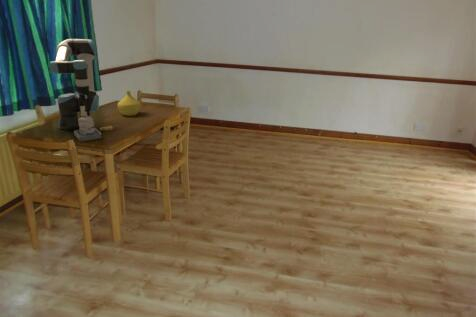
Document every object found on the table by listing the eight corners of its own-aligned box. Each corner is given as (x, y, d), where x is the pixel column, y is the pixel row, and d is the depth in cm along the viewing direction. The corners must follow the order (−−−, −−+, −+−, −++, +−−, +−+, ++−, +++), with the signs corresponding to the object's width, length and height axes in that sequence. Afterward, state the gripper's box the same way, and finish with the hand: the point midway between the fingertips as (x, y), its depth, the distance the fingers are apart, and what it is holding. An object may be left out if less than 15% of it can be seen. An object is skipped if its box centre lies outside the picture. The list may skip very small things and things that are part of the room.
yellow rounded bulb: (140, 111, 313) (139, 88, 306) (142, 116, 297) (141, 93, 290) (118, 112, 307) (116, 89, 300) (118, 117, 291) (116, 93, 284)
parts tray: (74, 134, 246) (73, 130, 245) (95, 132, 254) (95, 127, 253) (80, 141, 234) (79, 137, 233) (102, 138, 242) (102, 133, 240)
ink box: (95, 135, 245) (93, 118, 241) (90, 137, 240) (88, 120, 236) (84, 133, 247) (82, 116, 243) (79, 135, 243) (77, 118, 239)
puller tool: (101, 131, 257) (100, 128, 256) (99, 129, 259) (99, 127, 259) (112, 129, 261) (112, 127, 261) (111, 128, 264) (111, 126, 263)
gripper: (71, 82, 239) (75, 114, 247) (80, 89, 220) (85, 123, 228) (83, 81, 243) (87, 112, 251) (93, 88, 224) (97, 122, 232)
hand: (86, 118), depth 240 cm, fingers open, 13 cm apart
